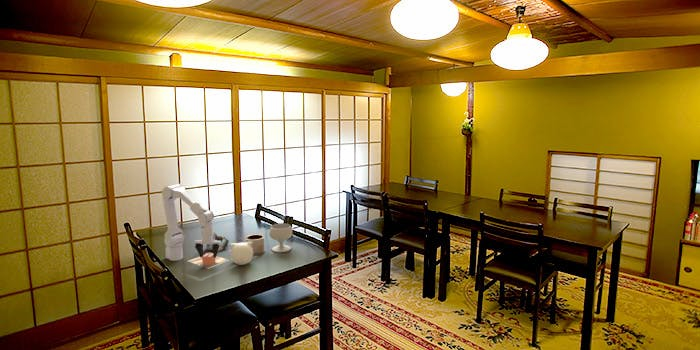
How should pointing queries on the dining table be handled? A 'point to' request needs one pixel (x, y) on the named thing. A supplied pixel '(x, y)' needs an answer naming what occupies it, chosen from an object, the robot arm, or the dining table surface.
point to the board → (199, 262)
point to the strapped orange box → (208, 259)
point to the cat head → (241, 253)
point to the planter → (256, 243)
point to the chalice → (280, 236)
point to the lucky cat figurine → (223, 243)
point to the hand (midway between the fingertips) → (208, 257)
